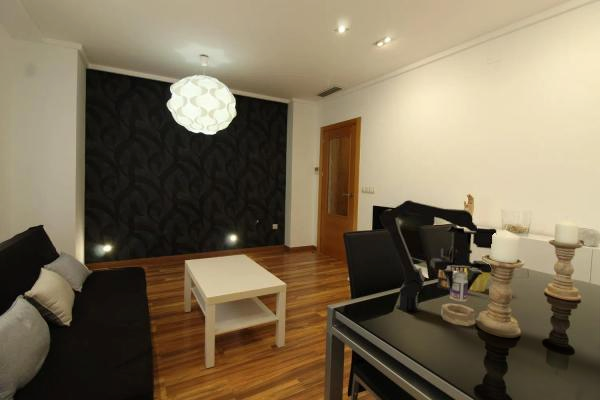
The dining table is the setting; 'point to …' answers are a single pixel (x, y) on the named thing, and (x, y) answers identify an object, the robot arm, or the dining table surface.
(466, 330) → the dining table surface
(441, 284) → the ammunition clip
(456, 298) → the pill bottle
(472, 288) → the plant pot
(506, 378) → the dining table surface
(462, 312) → the beige ring washer
